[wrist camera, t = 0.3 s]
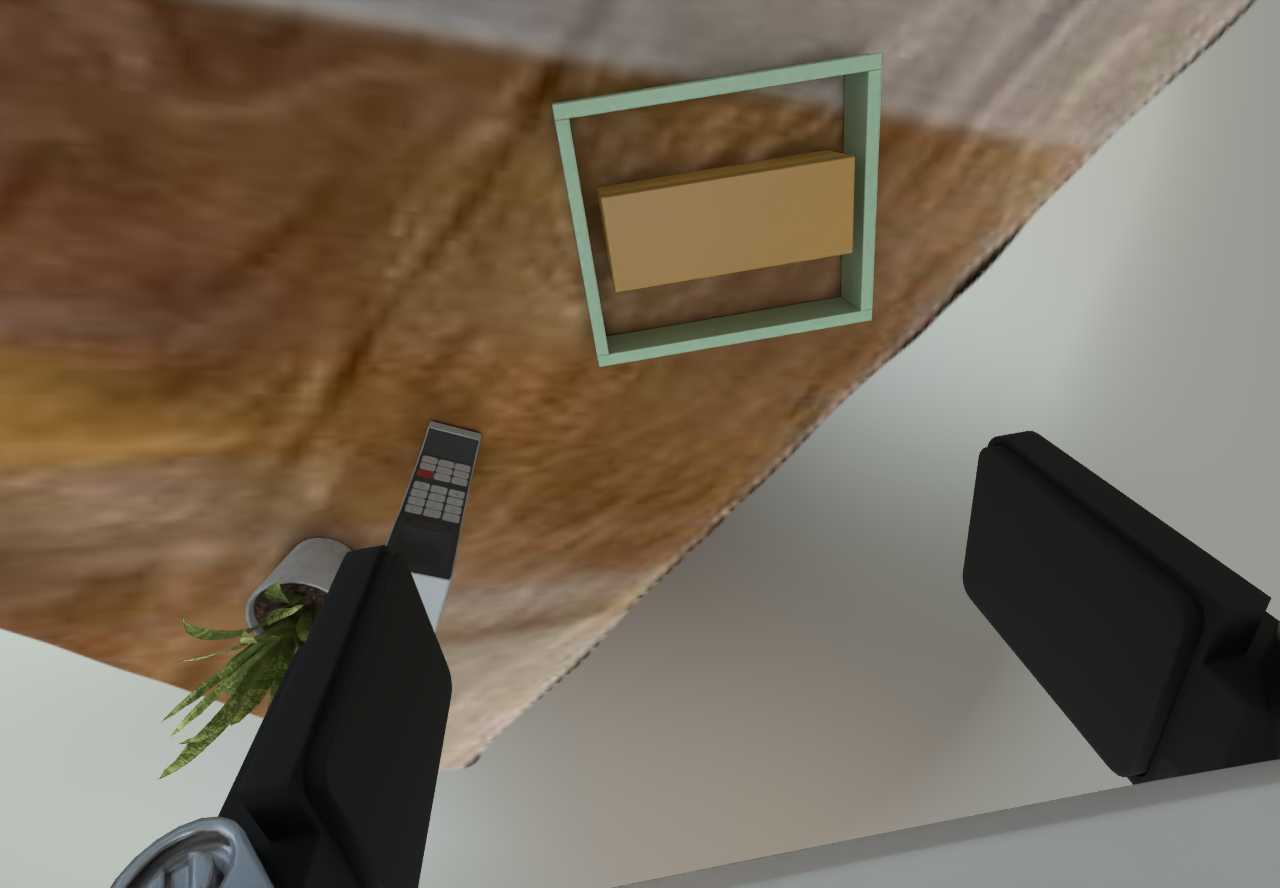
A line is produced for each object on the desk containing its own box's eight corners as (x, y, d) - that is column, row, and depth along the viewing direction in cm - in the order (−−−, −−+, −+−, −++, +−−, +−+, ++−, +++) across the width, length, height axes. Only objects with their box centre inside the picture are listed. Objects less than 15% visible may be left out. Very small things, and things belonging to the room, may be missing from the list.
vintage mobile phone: (482, 431, 48) (423, 716, 27) (466, 486, 50) (400, 791, 29) (431, 418, 47) (326, 702, 26) (417, 474, 49) (309, 781, 28)
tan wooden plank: (596, 187, 41) (600, 197, 37) (827, 149, 42) (855, 156, 38) (610, 274, 44) (615, 293, 40) (827, 238, 44) (853, 253, 41)
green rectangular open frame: (551, 103, 39) (551, 104, 36) (857, 54, 39) (883, 52, 36) (596, 348, 46) (599, 367, 43) (851, 305, 47) (871, 320, 44)
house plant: (336, 664, 58) (265, 854, 43) (188, 579, 52) (49, 768, 37) (447, 572, 54) (409, 746, 40) (302, 471, 48) (197, 632, 34)
